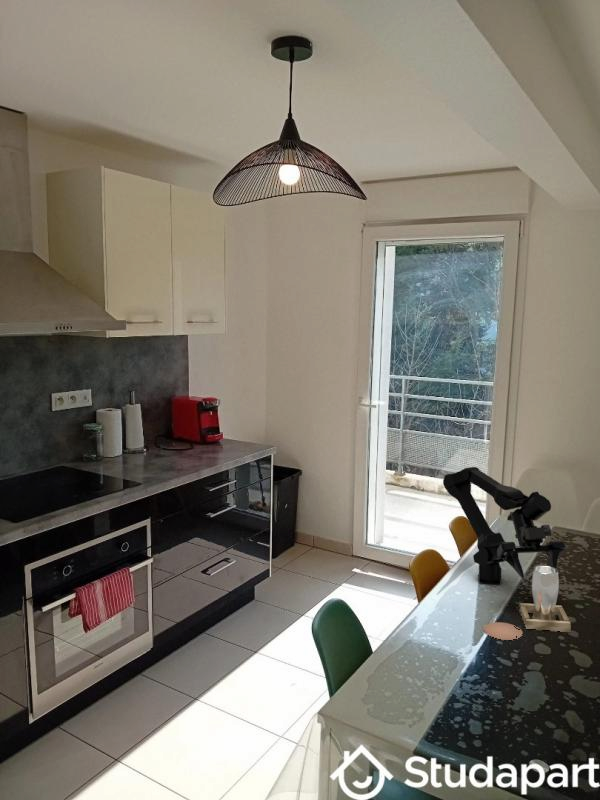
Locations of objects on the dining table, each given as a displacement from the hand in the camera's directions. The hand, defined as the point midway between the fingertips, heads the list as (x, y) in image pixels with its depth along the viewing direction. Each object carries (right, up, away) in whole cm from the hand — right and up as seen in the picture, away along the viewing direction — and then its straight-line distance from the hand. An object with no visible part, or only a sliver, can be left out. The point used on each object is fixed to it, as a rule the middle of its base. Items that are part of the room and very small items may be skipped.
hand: (539, 577), depth 180 cm
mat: (-13, -12, -9) cm, 20 cm away
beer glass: (0, -12, -3) cm, 12 cm away
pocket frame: (0, -11, -3) cm, 12 cm away
